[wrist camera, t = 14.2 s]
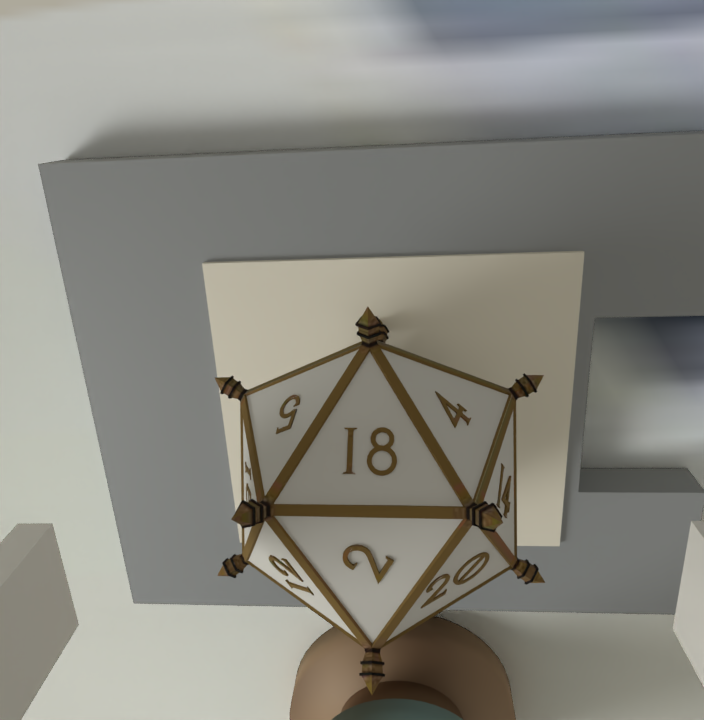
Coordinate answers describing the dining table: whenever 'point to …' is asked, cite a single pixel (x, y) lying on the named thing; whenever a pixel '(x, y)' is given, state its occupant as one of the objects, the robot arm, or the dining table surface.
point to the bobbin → (404, 678)
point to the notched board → (406, 331)
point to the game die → (378, 487)
